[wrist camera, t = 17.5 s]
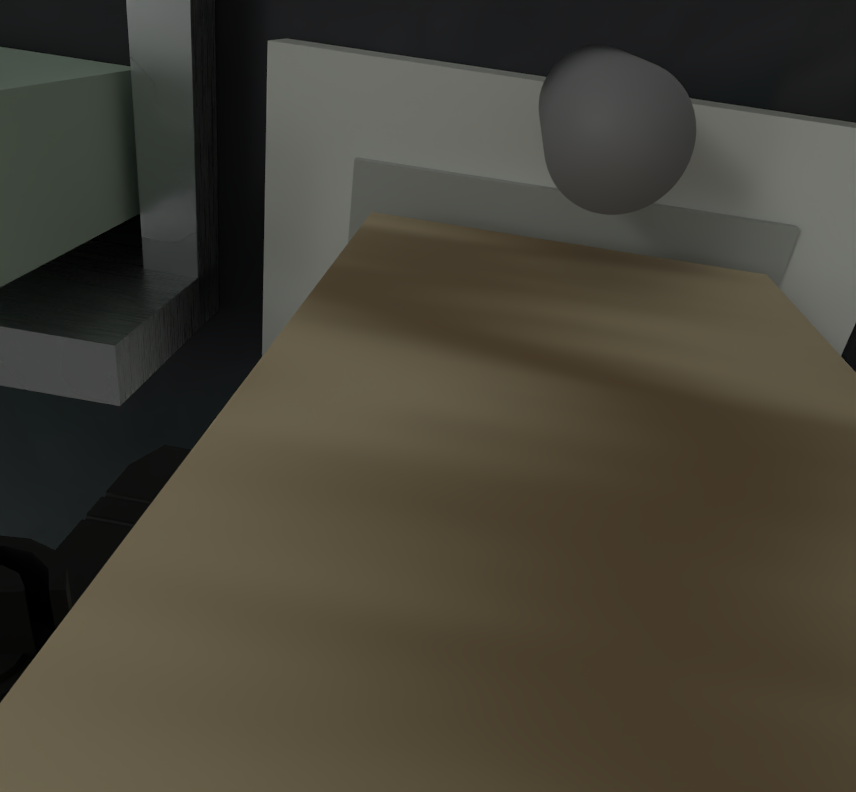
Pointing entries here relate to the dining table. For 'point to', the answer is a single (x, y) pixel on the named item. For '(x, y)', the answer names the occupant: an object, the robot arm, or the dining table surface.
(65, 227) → the cover
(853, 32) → the dining table surface
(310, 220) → the seat plate
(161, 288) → the housing frame
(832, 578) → the block
